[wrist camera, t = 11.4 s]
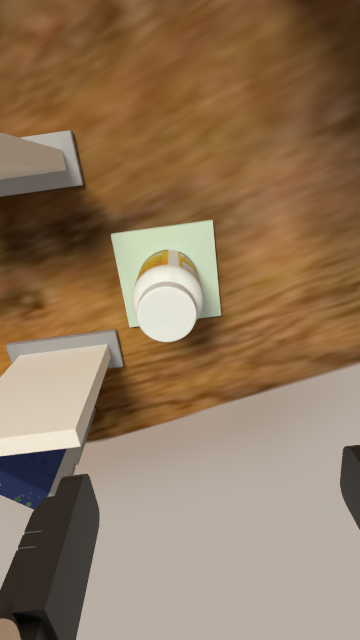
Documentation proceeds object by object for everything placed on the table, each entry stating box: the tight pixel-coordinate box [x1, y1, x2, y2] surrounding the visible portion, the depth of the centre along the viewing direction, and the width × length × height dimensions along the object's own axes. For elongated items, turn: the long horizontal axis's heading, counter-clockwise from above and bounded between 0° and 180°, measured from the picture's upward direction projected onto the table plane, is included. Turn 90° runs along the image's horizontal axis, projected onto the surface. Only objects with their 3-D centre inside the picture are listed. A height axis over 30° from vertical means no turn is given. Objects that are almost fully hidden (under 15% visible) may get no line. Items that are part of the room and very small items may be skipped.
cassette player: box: [0, 408, 96, 510], centre depth 31 cm, size 7×2×12 cm, turn 54°
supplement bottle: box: [132, 249, 203, 342], centre depth 27 cm, size 5×5×10 cm
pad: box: [111, 220, 221, 327], centre depth 31 cm, size 9×9×1 cm
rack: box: [0, 130, 124, 456], centre depth 25 cm, size 22×11×13 cm, turn 8°
